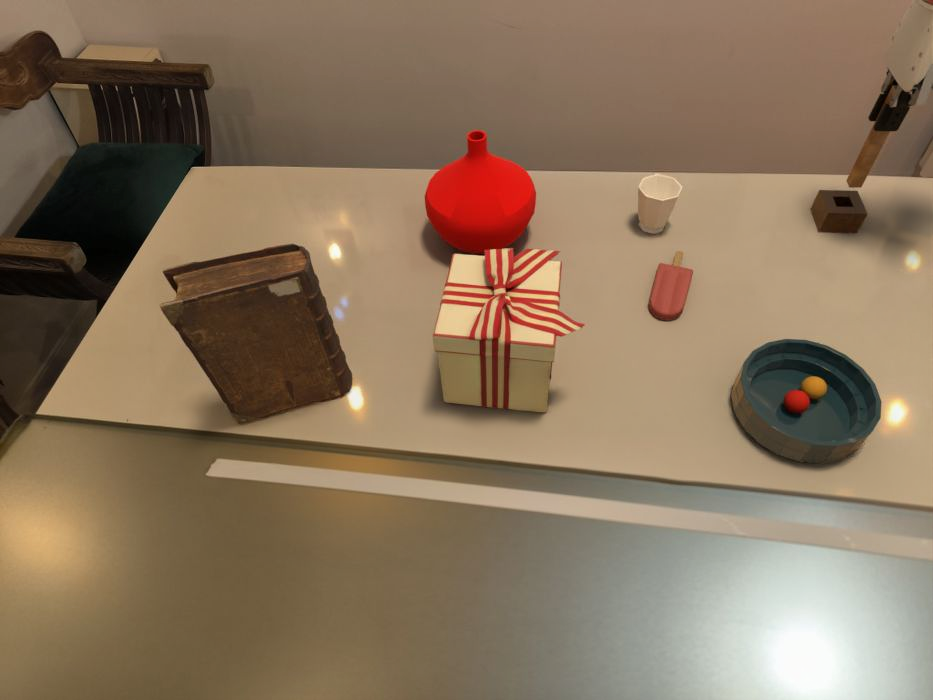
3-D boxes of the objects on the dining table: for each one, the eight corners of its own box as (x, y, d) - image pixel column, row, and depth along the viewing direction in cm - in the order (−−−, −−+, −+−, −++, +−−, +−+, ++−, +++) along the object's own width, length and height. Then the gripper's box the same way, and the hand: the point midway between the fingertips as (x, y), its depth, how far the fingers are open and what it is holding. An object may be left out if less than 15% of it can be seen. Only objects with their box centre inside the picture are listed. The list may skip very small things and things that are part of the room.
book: (353, 367, 89) (308, 238, 70) (356, 407, 85) (308, 281, 65) (239, 387, 88) (161, 261, 69) (236, 428, 84) (151, 306, 64)
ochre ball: (831, 388, 77) (808, 375, 78) (816, 406, 79) (794, 393, 80) (833, 381, 80) (811, 369, 81) (818, 399, 81) (797, 386, 82)
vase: (433, 202, 112) (421, 105, 97) (533, 199, 111) (536, 101, 96) (425, 271, 101) (410, 174, 86) (536, 270, 99) (540, 170, 84)
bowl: (844, 364, 84) (860, 342, 80) (879, 470, 74) (899, 450, 70) (722, 358, 86) (732, 336, 82) (740, 460, 76) (753, 440, 72)
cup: (632, 238, 103) (639, 200, 96) (628, 201, 109) (635, 162, 102) (674, 239, 102) (685, 200, 96) (668, 201, 108) (678, 162, 102)
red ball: (789, 390, 81) (809, 406, 80) (775, 405, 80) (794, 420, 79) (798, 381, 78) (818, 397, 77) (783, 396, 77) (804, 412, 76)
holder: (847, 209, 104) (857, 190, 101) (857, 233, 100) (868, 213, 97) (810, 208, 105) (819, 189, 101) (818, 232, 101) (828, 212, 98)
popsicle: (698, 251, 98) (682, 317, 89) (695, 258, 99) (680, 324, 90) (664, 244, 99) (646, 309, 91) (662, 251, 100) (644, 316, 92)
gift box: (578, 415, 82) (590, 333, 68) (442, 412, 83) (428, 332, 70) (572, 320, 92) (582, 233, 79) (452, 319, 94) (441, 233, 80)
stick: (858, 180, 97) (906, 84, 85) (861, 187, 96) (910, 91, 83) (846, 180, 97) (892, 85, 85) (849, 187, 96) (896, 91, 84)
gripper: (1016, 17, 69) (928, 157, 83) (962, -38, 78) (892, 96, 93) (944, 17, 70) (870, 156, 84) (900, -37, 79) (840, 96, 94)
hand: (882, 124), depth 88 cm, fingers closed on stick, 1 cm apart
